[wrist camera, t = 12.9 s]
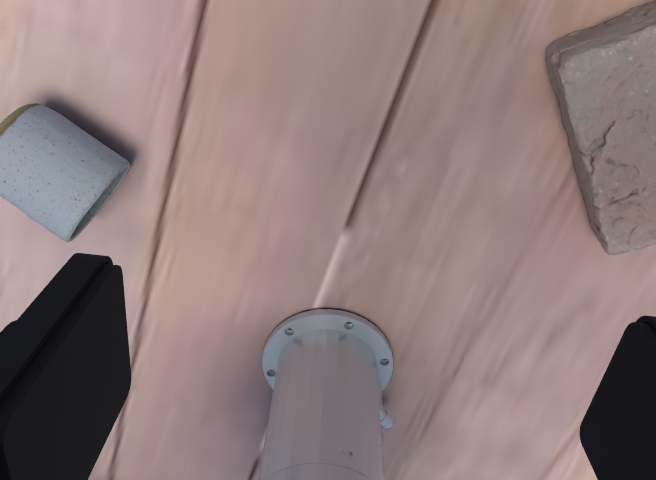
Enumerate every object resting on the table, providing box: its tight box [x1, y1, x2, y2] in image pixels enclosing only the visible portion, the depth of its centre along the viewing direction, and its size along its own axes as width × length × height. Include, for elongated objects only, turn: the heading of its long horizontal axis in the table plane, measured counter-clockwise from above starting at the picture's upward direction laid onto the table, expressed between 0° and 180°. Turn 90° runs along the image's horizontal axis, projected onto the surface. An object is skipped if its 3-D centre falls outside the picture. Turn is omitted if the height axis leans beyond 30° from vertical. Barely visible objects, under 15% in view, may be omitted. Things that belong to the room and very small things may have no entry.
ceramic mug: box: [0, 104, 130, 242], centre depth 41 cm, size 11×8×8 cm
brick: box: [546, 2, 656, 255], centre depth 40 cm, size 17×8×5 cm, turn 25°
